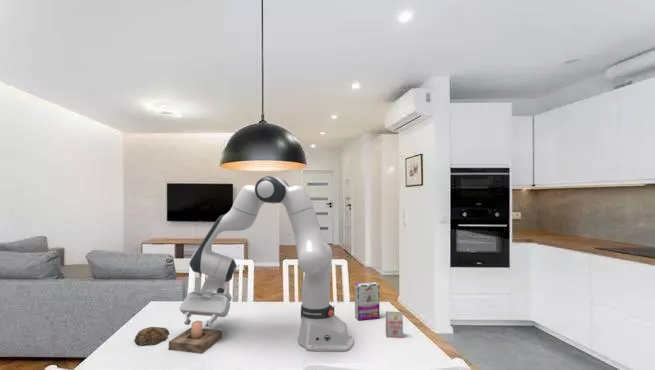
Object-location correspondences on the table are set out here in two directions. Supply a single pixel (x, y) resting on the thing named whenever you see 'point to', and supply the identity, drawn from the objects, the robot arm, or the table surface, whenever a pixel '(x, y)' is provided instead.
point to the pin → (196, 330)
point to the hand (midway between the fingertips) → (197, 325)
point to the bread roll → (151, 336)
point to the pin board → (195, 341)
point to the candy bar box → (367, 301)
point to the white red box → (394, 324)
